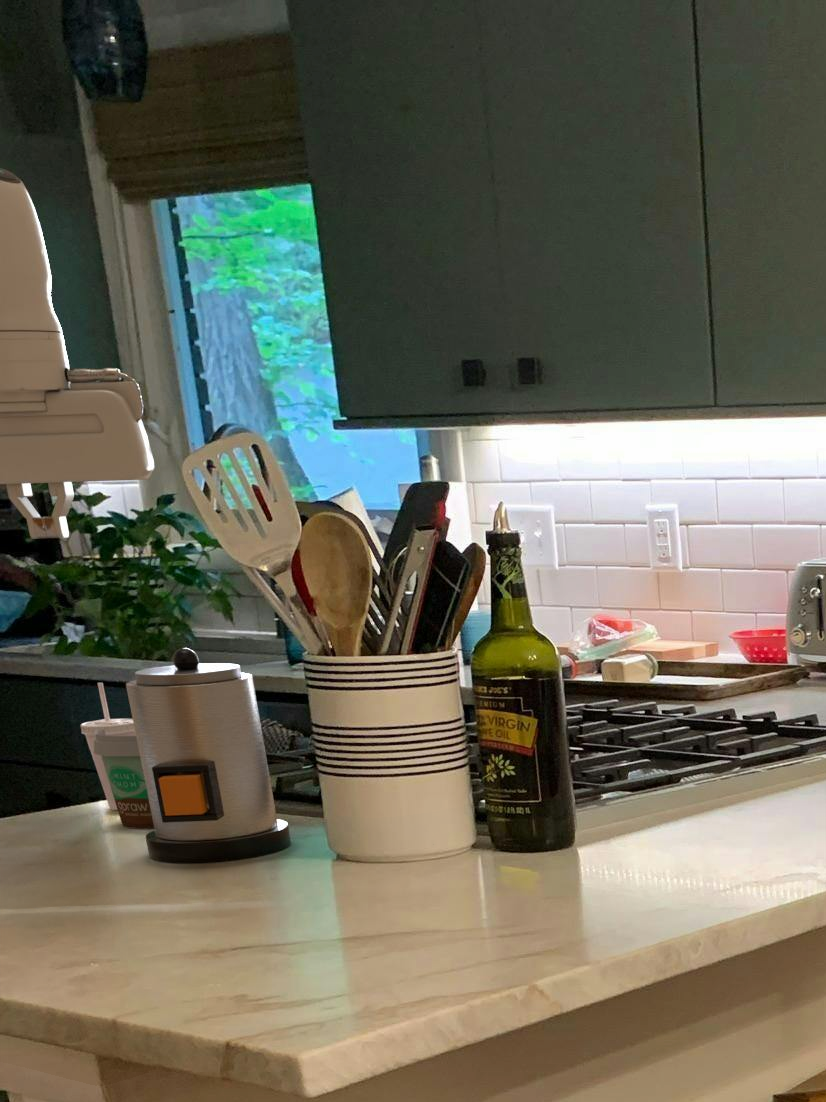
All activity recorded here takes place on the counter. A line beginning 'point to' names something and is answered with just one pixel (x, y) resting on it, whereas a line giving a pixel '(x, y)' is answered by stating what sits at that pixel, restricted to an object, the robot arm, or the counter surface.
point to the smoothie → (111, 729)
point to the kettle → (205, 760)
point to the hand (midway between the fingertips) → (50, 538)
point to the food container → (125, 778)
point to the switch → (183, 794)
